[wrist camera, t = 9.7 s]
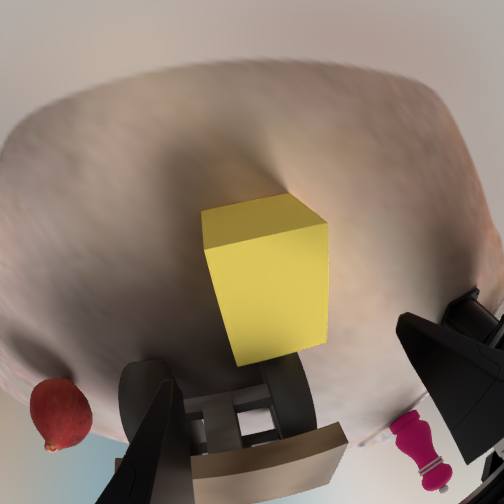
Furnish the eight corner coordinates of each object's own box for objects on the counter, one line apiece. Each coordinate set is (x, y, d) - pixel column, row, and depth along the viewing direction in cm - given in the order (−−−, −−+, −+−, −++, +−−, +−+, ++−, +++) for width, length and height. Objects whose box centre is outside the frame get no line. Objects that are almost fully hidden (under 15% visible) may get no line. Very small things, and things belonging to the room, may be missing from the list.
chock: (288, 192, 15) (327, 222, 11) (297, 292, 18) (326, 342, 14) (200, 210, 15) (204, 250, 10) (225, 310, 18) (237, 367, 13)
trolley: (291, 305, 19) (354, 428, 10) (297, 412, 26) (326, 487, 17) (115, 341, 17) (94, 467, 8) (184, 435, 25) (193, 512, 16)
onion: (104, 379, 19) (92, 460, 12) (90, 404, 20) (80, 472, 13) (46, 349, 16) (17, 426, 9) (39, 379, 18) (20, 444, 11)
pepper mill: (411, 418, 40) (451, 485, 23) (383, 434, 40) (421, 506, 22) (422, 402, 37) (469, 475, 20) (392, 419, 36) (437, 499, 19)
